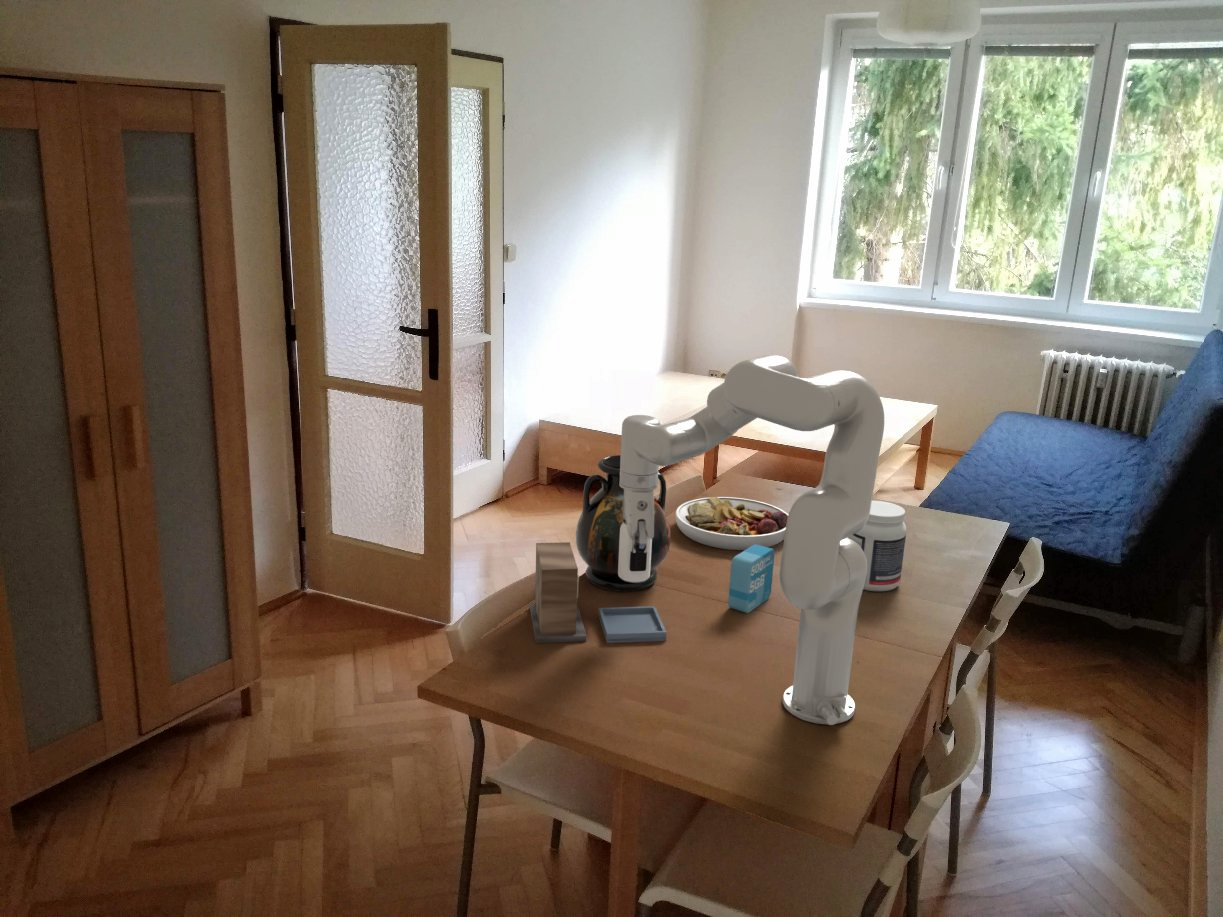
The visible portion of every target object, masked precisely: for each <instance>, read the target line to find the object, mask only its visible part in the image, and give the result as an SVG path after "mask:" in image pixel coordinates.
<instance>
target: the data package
mask: <svg viewBox="0 0 1223 917" xmlns="http://www.w3.org/2000/svg"><path fill="white" fill-rule="evenodd" d="M774 563H775V550H774V548H771V547H764V546H760V545H756V544H755V545H753V546H751V547H750V548H748V549H746V550H742V551H741V552H739V553H738V554H736V555H735V556H734V557H733V558H732V560H731V564H730V576H729V588H728V600H727V605H728V608H730V609H732V610H736V611H739V612H743V613H745V614H749V613H750V612H752V611H753V610H754V609H756V608H757V607H759V606H760V605H762V604H763V603H764V602H766V601H767V600H768V599H769V598H770V596H771V593H772V586H773V585H772V584H773V575H774V574H773V573H774V566H775V564H774Z"/></svg>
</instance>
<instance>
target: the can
mask: <svg viewBox="0 0 1223 917" xmlns="http://www.w3.org/2000/svg"><path fill="white" fill-rule="evenodd" d="M634 536H635V537H639V534H638V533H634ZM646 540H647V560H646V570H645V571H630V551H632V539H631V538H630V537H629V536H628V530H627V524H626V523H625V521H624V519H623V523H622V525H621V527H620V539H619V561H618V576H619V577H620V578H621V579H622V580H624V581H626V582H632V583H639V582H644V581H646V580H647V579H648V578H649V577H650V566H651V548H652V539H650V538H648V536H647V532H646ZM638 541H639V540H635V544H637V543H639V542H638Z"/></svg>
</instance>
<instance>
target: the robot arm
mask: <svg viewBox="0 0 1223 917" xmlns="http://www.w3.org/2000/svg"><path fill="white" fill-rule="evenodd" d="M756 419H760V420H764V421H767V422H769V423H772V424H776V425H779V426H782V427H784V428H788V429H791V430H795V431H799V432H815V431H818V430H821V429H824V428H826V427H830V426H832V425H833V426H834V427H833V428H834V430H833V432H832V435H831V437H830V438H831V439H830V440H829V442H828V445H827V448H826V451H825V454H824V455H825V456H824V462H823V463H824V464H823V470H822V474H821V478H820V481H819V484H818V485H817V486H816V487H815V488H812V489H809V490H808V491H805V492H803V494H801V495H800V496H799V497H797V498H796V500H794V503H793V504H792V506H791V508H790V510H789V512H788V518H787V524H786V530H785V537H784V540H783V544H782V551H781V558H780V565H779V583H780V587H781V590H782V593H783V595H784V597H785V598H786V600H787V601H788V602H789V603H790V604H792V605H793V606H794V607H795V608H798V609H800V616H799V621H798V622H799V624H798V631H797V632H798V634H797V644H796V651H795V652H796V654H795V661H794V662H795V664H794V673H793V680H792V685H791V686H789V687H788V688H786V689H785V690H784V692H783V696H782V704H783V707H784V708H785V709H786V710H787V711H788V712H789V713H790V714H791V715H793V716H795V717H796V718H798V719H800V720H802V721H805V722H809V723H813V724H818V725H819V724H820V725H829V726H834V725H836V724H841V723H842V724H843V723H844V722H847V721H848V720H850V719H852V717H854V714H855V711H856V704H855V701H854V700H853V698H852V697H851V696H850V695H849V694H848V693H849V692H848V691H849V684H850V675H851V668H852V661H853V651H854V645H855V644H854V643H855V642H854V641H855V634H856V628H857V621H858V620H857V619H858V613H859V608H860V602H861V599H862V596H863V592H864V589H863V588H864V585H865V581H866V576H867V560H866V556H865V554H864V552H863V550H862V548H861V547H860V546H859V545H858V544H857V543H856V542H855V541H853V540H851V539H849V538H848V537H849V536H851V535H853V534H855V533H857V532H858V531H860V530H861V529H862V528H863V527H864V526H865V525H866V523H867V521H868V518H869V515H870V509H871V502H872V501H873V497H874V490H875V484H876V478H877V472H878V471H877V470H878V464H879V457H880V452H881V447H882V442H883V437H884V431H885V411H884V406H883V402H882V399H881V398H880V395H879V393H878V391H877V390H876V389H875V387H874V386H873V384H871V382H869V380H868V379H866V378H865V377H863V375H860V374H858V373H855V372H853V371H850V370H843V369H841V370H831V371H827V372H822V373H819V374H816V375H812V376H808V377H804V378H803V377H800V376H799V372H798V370H797V367H796V366H795V364H794V363H793V362H792V361H790V359H788V358H786V357H784V356H782V355H777V354H770V355H769V354H768V355H764V356H760V357H754V358H749V359H744V360H742V361H740V362H738V363H736V364H734V365H733V366H732V367H731V368H730V369H729V370H728V372H727V373H726V375H725V377H724V381H723V382H721V384H719V385H718V386H716V387H714V388H712V390H710V391H709V394H708V395H707V400H706V407H704V408H703V409H701V410H699V411H698V412H696V413H694V414H693V415H691V416H690V417H688V418H685V419H681V420H677V421H673V422H670V423H666V424H665V423H664V424H661V422H660V420H659V419H658V418H656V417H654V416H651V415H645V414H634V415H633V414H632V415H630V416H627V417H625V418H624V419H623V420H622V424H621V438H620V439H621V440H620V455H621V459H620V482H619V485H620V487H621V488H623V489H624V497H623V519H624V521H625V523H626V524H627V530H628V536H629V537H630V538H631V539H632V551H630V571H645V570H646V560H647V540H646V532H647V536H648V538H650V539H652V538H653V537H654V497H655V494H654V491H655V490H656V489H658V484H659V479H658V472H659V467H667V466H668V467H669V466H672V465H675V464H678V463H681V462H683V461H686V460H689V459H693V458H696V457H699V456H701V455H703V454H705V453H707V452H708V451H711V450H712V449H714V448H715V447H717V446H718V445H720V444H722V443H723V442H725V441H727V440H728V439H730V438H731V437H732V436H733V435H735V434H736V433H737V432H738V430H740V429H742V428H743V427H745V426H747V425H748V424H750V423H751V422H753V421H754V420H756ZM634 533H638V534H639V537H635V536H634ZM635 540H639V541H638V542H639V543H637V544H635Z"/></svg>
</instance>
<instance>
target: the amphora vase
mask: <svg viewBox="0 0 1223 917" xmlns="http://www.w3.org/2000/svg"><path fill="white" fill-rule="evenodd" d="M620 459H621V454H617V455H609V456H606V457H602V458H601V459H600V460H598V462H597V468H598V469H599V470H600V471H601V472H603V473H605V477H606V478H605V477H604V476H602V475H601V474H592V475H590V476H588V477H587V479H586V480H585V483H584V487H583V501H582V502H583V503H582V511H581V514H580V516H579V519H578V521H577V525H576V529H575V545H576V549H577V551H578V555H579V556H580V557H581V559H582V560H583V562H584V563H585V564H586V565H587V567H586V570H585V576H586V578H587V580H588V581H589V582H591V584H593V585H595V586H596V587H599V588H601V589H604V590H609V591H613V592H614V591H615V592H635V591H639V590H643V589H647V588H649V587H651V586H652V585H653V584H654V583H655V582H656V581H657V579H658V572H657V569H658V567H659V566H661V564H662V563H663V562H664V560H665V559H666V558H667V555H668V553H669V551H670V546H671V537H672V534H671V533H672V532H671V528H670V523H669V521H668V518H667V515H666V498H667V481H666V479H665V477H664V475H663V474H662V473H661V472H659V471H658V483H659V489H660V490H659V495H658V499H657V497H655V496H654V537H653V538H652V548H651V566H650V577H649V578H648V579H647V580H646V581H644V582H639V583H632V582H626V581H624V580H622V579H621V578H620V577H619V576H618V561H619V539H620V527H621V525H622V523H623V497H624V489H623V488H621V487H620V485H619V482H620ZM597 481H599V482H600V483H601V487H600V489H599V490H598V491H597V492H596V493H595V494H594V495H593V496H592V497H591V498H590V493H591V488H592V485H593V483H595V482H597Z"/></svg>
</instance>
